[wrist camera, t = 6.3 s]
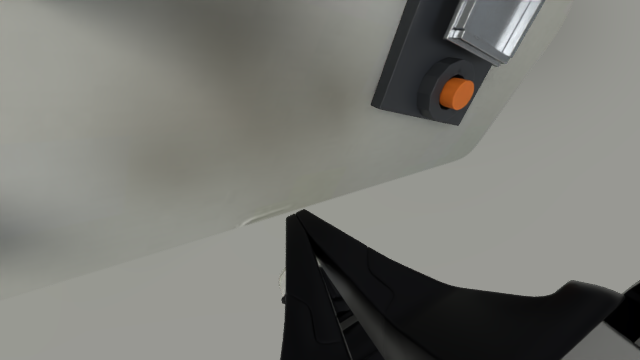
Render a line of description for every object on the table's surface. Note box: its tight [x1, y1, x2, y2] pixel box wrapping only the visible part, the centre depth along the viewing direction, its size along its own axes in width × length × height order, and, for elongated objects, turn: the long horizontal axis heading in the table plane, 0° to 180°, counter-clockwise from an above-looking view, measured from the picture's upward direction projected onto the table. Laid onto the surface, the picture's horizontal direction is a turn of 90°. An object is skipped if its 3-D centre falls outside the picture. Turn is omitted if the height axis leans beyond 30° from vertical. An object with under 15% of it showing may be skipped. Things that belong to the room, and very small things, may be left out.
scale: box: [371, 0, 492, 126], centre depth 20 cm, size 15×13×3 cm
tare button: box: [439, 78, 474, 110], centre depth 21 cm, size 3×3×2 cm
